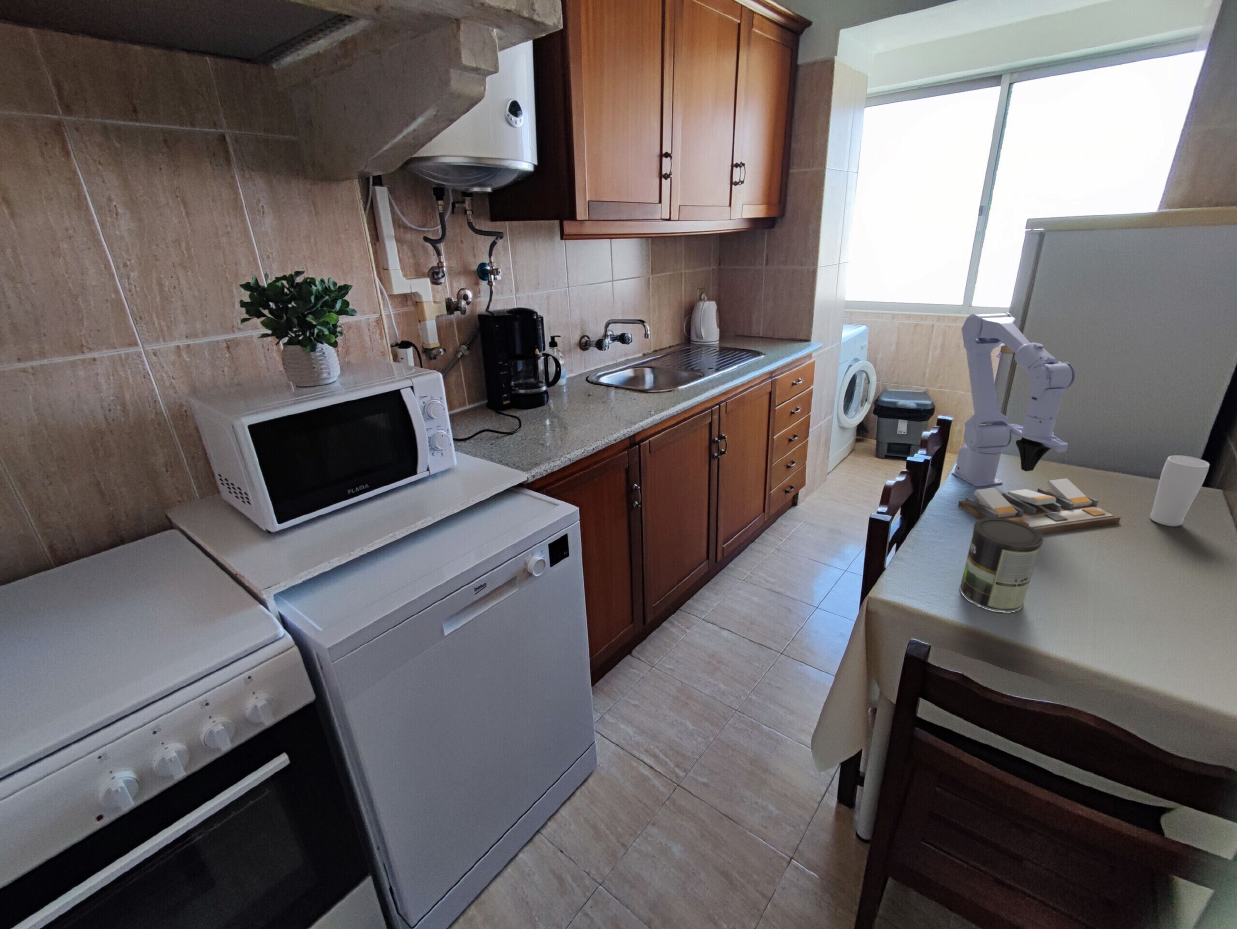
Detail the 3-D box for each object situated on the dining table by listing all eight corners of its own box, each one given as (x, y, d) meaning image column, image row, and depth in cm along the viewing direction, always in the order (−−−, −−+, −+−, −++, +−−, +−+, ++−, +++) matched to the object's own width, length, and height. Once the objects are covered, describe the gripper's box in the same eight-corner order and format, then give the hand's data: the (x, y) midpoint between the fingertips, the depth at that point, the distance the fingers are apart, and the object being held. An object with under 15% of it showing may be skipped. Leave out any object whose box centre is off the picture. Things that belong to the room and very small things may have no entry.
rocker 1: (973, 493, 134) (976, 489, 133) (992, 491, 135) (994, 487, 134) (995, 517, 128) (998, 514, 127) (1015, 515, 129) (1018, 511, 128)
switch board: (957, 506, 138) (960, 494, 136) (1056, 493, 142) (1059, 482, 140) (1010, 538, 123) (1014, 526, 122) (1118, 522, 127) (1123, 510, 126)
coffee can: (954, 600, 104) (969, 534, 99) (964, 574, 111) (979, 512, 106) (1020, 621, 98) (1040, 552, 92) (1027, 593, 105) (1046, 527, 100)
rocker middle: (1007, 496, 136) (1008, 490, 136) (1025, 493, 137) (1026, 488, 137) (1036, 505, 129) (1037, 499, 128) (1055, 502, 129) (1056, 497, 129)
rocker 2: (1046, 483, 137) (1049, 480, 136) (1063, 481, 138) (1067, 477, 137) (1070, 507, 131) (1074, 504, 130) (1089, 505, 132) (1092, 501, 131)
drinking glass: (1150, 525, 125) (1173, 464, 120) (1141, 512, 131) (1162, 453, 125) (1190, 531, 122) (1216, 468, 117) (1179, 518, 128) (1203, 457, 122)
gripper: (1086, 423, 122) (1069, 480, 127) (1029, 405, 135) (1016, 457, 140) (1058, 426, 121) (1042, 483, 126) (1004, 407, 134) (991, 460, 139)
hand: (1026, 469), depth 133 cm, fingers closed
